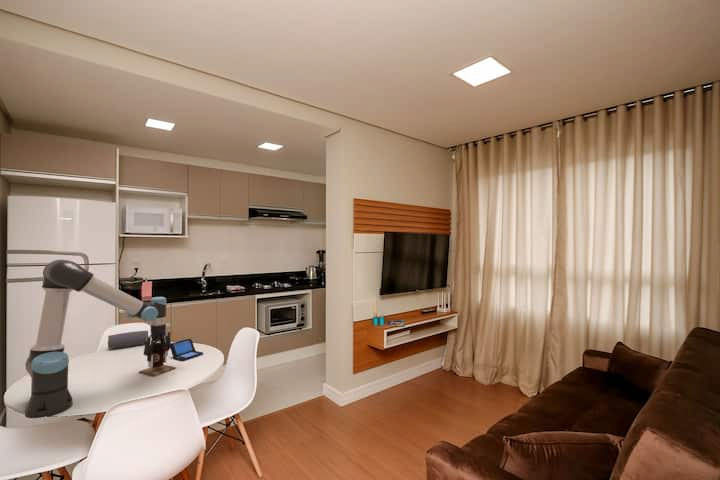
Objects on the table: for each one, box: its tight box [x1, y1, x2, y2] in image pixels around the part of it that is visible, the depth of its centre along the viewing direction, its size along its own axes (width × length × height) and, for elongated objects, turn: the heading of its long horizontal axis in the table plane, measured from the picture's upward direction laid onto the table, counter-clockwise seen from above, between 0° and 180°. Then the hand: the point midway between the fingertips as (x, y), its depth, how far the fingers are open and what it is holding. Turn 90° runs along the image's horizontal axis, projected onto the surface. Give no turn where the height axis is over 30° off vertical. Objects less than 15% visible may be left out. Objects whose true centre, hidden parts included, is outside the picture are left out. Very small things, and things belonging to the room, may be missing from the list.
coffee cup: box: [152, 342, 167, 368], centre depth 189 cm, size 9×8×13 cm
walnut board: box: [138, 364, 177, 378], centre depth 189 cm, size 13×13×1 cm
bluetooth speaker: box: [107, 330, 149, 349], centre depth 232 cm, size 23×9×10 cm, turn 130°
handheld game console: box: [170, 338, 204, 362], centre depth 214 cm, size 16×13×9 cm
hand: (157, 364), depth 189 cm, fingers closed on coffee cup, 7 cm apart
